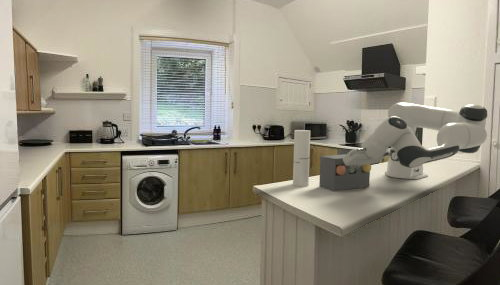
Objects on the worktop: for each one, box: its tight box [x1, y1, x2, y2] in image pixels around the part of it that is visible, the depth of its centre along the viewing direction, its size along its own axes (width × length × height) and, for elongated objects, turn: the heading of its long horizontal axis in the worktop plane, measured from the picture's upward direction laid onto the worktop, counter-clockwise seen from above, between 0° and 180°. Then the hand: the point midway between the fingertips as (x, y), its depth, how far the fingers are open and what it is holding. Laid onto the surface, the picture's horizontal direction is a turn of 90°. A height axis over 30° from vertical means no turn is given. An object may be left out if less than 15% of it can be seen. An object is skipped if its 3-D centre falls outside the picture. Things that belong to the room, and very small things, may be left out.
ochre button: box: [362, 164, 372, 173], centre depth 153 cm, size 4×3×4 cm
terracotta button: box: [336, 165, 346, 175], centre depth 145 cm, size 4×3×4 cm
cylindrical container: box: [292, 129, 311, 188], centre depth 154 cm, size 7×7×25 cm
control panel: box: [318, 153, 371, 192], centre depth 153 cm, size 22×9×14 cm, turn 120°
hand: (353, 168), depth 148 cm, fingers closed, pressing on sage green button
